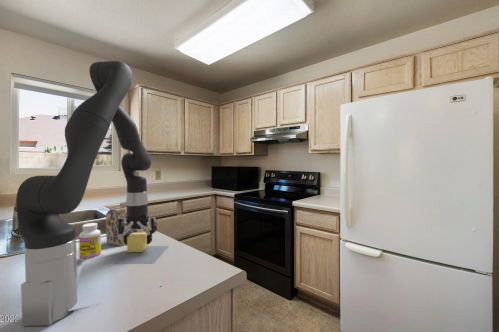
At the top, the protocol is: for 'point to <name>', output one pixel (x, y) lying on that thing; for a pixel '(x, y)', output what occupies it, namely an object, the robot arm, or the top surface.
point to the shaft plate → (143, 256)
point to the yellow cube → (137, 242)
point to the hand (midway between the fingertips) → (138, 243)
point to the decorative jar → (112, 225)
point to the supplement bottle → (89, 241)
